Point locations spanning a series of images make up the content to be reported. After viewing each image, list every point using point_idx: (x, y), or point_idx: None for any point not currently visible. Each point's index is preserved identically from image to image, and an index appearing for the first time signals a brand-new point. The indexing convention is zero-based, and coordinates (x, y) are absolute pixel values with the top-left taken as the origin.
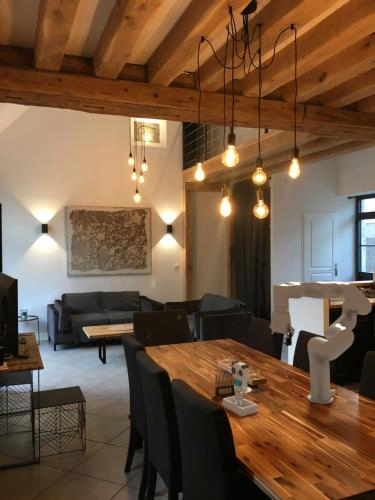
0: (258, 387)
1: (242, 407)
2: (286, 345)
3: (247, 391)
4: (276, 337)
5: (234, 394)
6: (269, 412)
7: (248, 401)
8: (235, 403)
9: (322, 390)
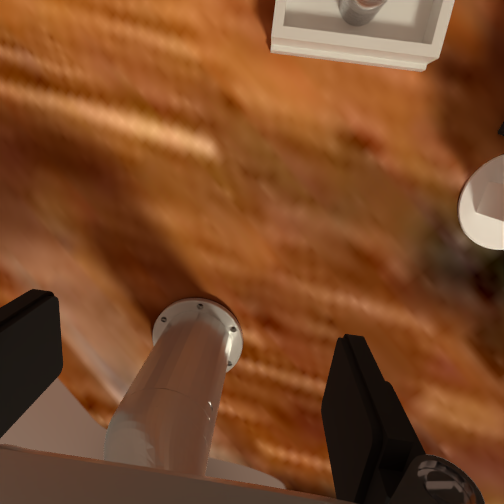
0: (462, 282)
1: (339, 1)
2: (41, 290)
3: (468, 204)
4: (339, 440)
5: (499, 130)
6: (235, 89)
7: (333, 34)
8: (405, 18)
9: (156, 343)
